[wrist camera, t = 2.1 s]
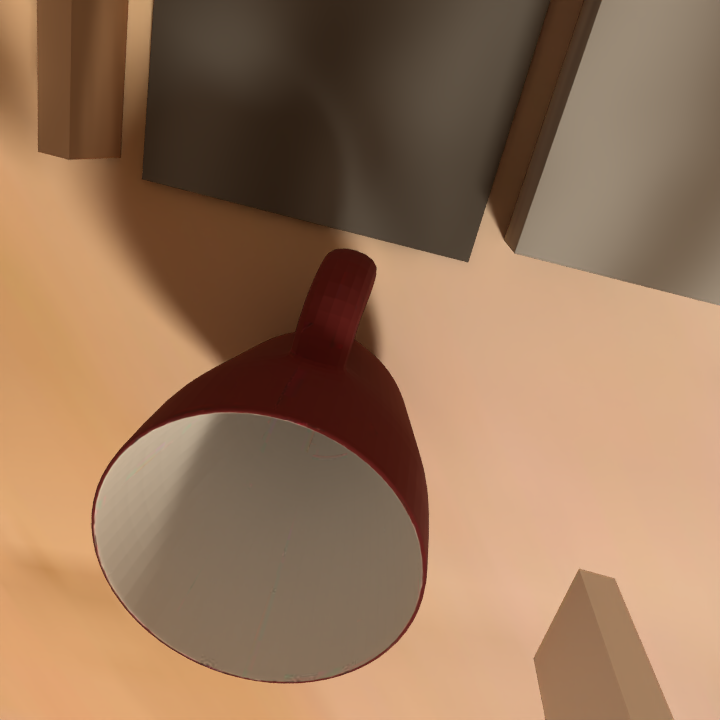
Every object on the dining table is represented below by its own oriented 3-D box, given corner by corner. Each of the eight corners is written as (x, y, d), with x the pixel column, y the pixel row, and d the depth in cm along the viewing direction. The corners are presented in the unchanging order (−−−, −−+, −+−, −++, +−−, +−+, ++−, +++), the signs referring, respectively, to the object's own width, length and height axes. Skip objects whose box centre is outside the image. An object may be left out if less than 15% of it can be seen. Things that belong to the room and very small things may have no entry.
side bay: (93, 164, 20) (38, 168, 17) (111, -413, 14) (34, -551, 11) (714, 323, 19) (762, 353, 16) (991, -210, 13) (1136, -302, 11)
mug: (238, 205, 19) (68, 258, 10) (459, 239, 19) (490, 328, 10) (227, 452, 24) (97, 650, 14) (409, 486, 23) (397, 713, 14)
